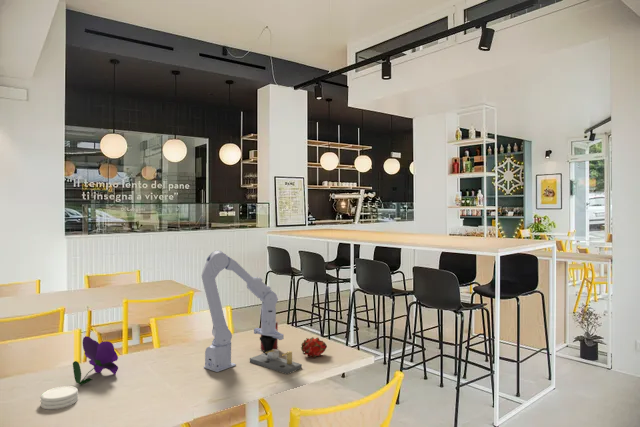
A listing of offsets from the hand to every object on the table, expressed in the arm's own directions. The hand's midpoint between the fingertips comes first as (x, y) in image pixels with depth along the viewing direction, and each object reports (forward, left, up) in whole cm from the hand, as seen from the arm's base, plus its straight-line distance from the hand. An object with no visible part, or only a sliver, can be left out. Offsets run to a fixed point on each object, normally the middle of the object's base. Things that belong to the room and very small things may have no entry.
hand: (268, 354), depth 175 cm
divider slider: (-1, -3, -1) cm, 3 cm away
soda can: (+10, +10, -3) cm, 15 cm away
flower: (-52, +34, -3) cm, 63 cm away
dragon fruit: (+16, -10, -3) cm, 20 cm away
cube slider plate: (-2, -5, -3) cm, 6 cm away
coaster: (-68, +24, -3) cm, 72 cm away
